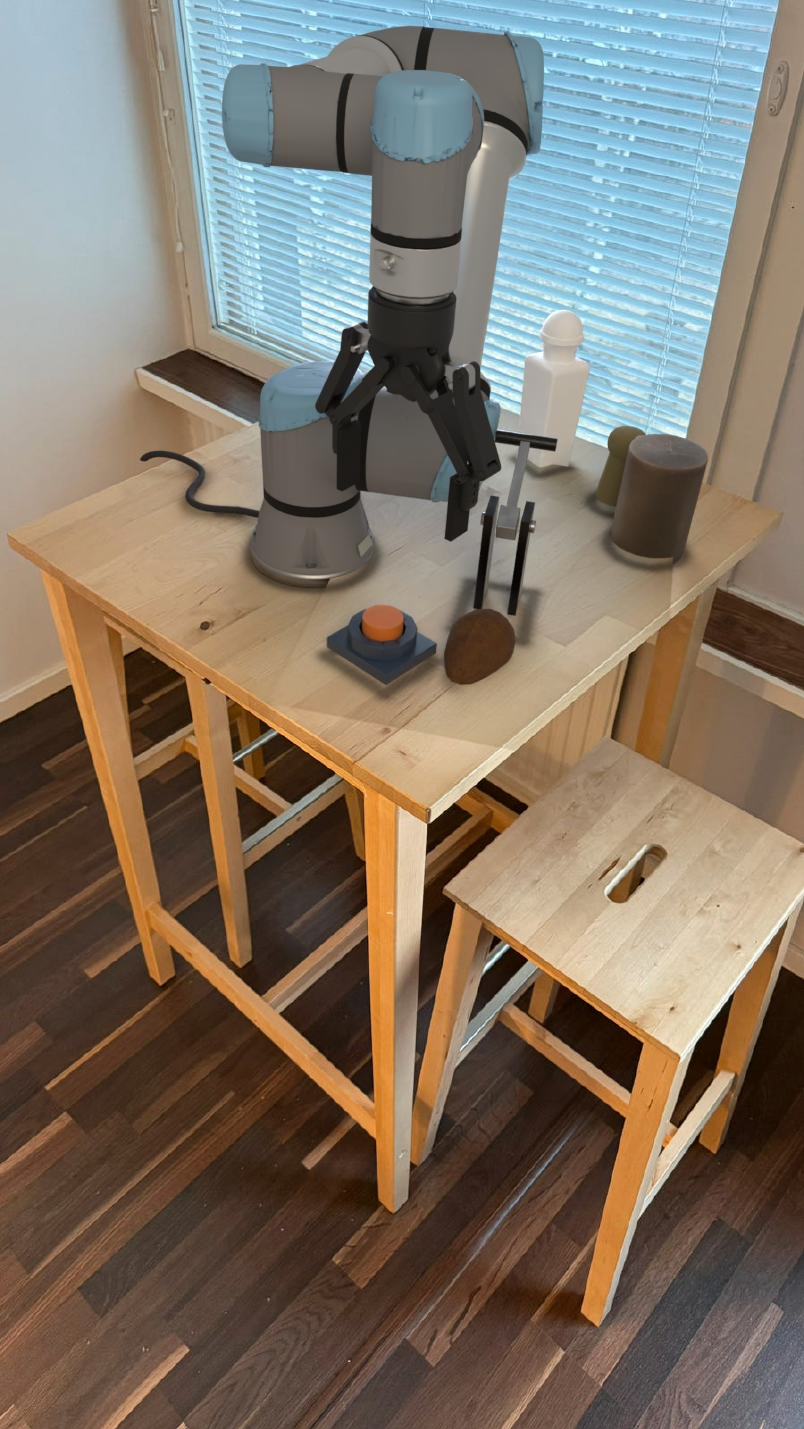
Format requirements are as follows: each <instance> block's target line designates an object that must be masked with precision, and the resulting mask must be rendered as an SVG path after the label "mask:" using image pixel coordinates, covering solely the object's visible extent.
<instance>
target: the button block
mask: <svg viewBox="0 0 804 1429" xmlns="http://www.w3.org/2000/svg"><path fill="white" fill-rule="evenodd" d="M366 609H367V608H363V609H362V610H361V611H359V612H357V613H355V614H354V615H352V616H351V618H350V619H349V622H348V624H347V625H346V626H344V627H343V628H340V629H339V630H337V631H335V632H334V633H332V634H330V635H328V636H327V637H326V648H328V649H329V650H330V651H331V652H334V653H335V654H337V655H338V656H340V657H341V658H343V659H344V660H345V661H347V662H349V663H350V664H352V665H354V666H355V667H357V668H358V669H359V670H361V671H362V672H364V673H365V674H368V675H369V676H370V677H372V678H374V679H375V680H377V681H378V682H380V683H382V684H383V685H385V686H387V685H389V684H391V683H392V682H394V681H395V680H397V679H398V678H400V677H402V676H403V675H404V674H406V673H407V672H409V671H411V670H412V669H413V668H415V667H417V666H418V665H420V664H422V663H423V662H425V661H426V660H428V659H429V658H431V657H433V656H435V655H436V654H437V647H438V643H437V642H435V641H434V640H432V639H430V638H429V637H427V636H425V635H424V634H422V633H420V631H418V626H417V624H416V622H415V620H414V618H413V617H412V616H411V615H409V614H408V613H406V612H404V611H403V610H401V609H399V610H400V611H401V612H402V614H403V617H404V620H403V632H402V635H401V636H400V637H399V638H397V639H396V640H390V641H383V642H382V641H376V640H371V639H370V638H368V637H366V636H365V635H364V633H363V631H362V616H363V613H364V611H365V610H366Z"/></svg>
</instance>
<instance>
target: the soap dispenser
mask: <svg viewBox="0 0 804 1429" xmlns="http://www.w3.org/2000/svg"><path fill="white" fill-rule="evenodd" d="M538 337H539V339H540V340H541V343H542V351H540V352H536V353H535V352H534V353H531V354H528V355H527V356H526V357H525V359H524V367H523V379H522V388H521V400H520V411H519V412H520V414H519V424H518V433H523V434H529V435H536V436H543V437H549V438H556V439H558V441H557V447H556V451H555V452H554V451H547V450H541V449H534V448H530V449H529V453H528V458H527V462H531V463H532V464H534V465H535V466H536V467H538V468H544V467H548V466H552V465H554V466H562V467H569V465H570V462H571V458H572V457H571V456H572V452H573V447H574V443H575V439H576V434H577V429H578V425H579V421H580V416H581V411H582V407H583V404H584V403H583V402H584V398H585V394H586V390H587V386H588V380H589V375H590V372H591V366H590V364H589V363H588V362H587V361H585V360H583V359H582V358H580V357H579V356H578V355H577V354H576V353H577V351H578V349H579V347H580V346H581V344H583V343H584V341H585V332H584V326H583V322H582V320H581V318H580V316H578V315H577V314H576V312H573V311H571V310H568V309H559V310H555V311H553V312H552V313H550V314H549V315H548V316H547V317H546V319H545V320H544V322H543V324H542V326H541V328H540V329H539V334H538ZM576 355H577V356H576ZM518 451H519V446H516V459H515V460H517V455H518Z"/></svg>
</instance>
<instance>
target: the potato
mask: <svg viewBox="0 0 804 1429" xmlns="http://www.w3.org/2000/svg"><path fill="white" fill-rule="evenodd" d="M515 645H516V634H515V628H514V627H513V625H512V623H511V622H510V620H509V618H507V617H506V616H505V615H503V613H501V612H500V611H497V610H494V609H491V608H482V609H474V610H471V611H469V612H467V613H464V614H463V615H462V616H460V617H459V618H458V619H457V620H456V621H455V622H454V623H453V624H452V627H451V629H450V631H449V634H448V637H447V640H446V643H445V647H444V652H443V661H444V668H445V673H446V675H447V677H448V678H449V680H451V682H452V683H455V684H458V685H459V686H463V685H464V686H465V685H474V684H475V683H477V682H480V681H482V680H484V679H486V678H488V677H489V676H491V675H492V674H494V673H495V672H497V671H499V670H500V669H501V668H503V666H505V665H506V664H508V663H509V661H510V660H511V658H512V656H513V655H514V651H515Z"/></svg>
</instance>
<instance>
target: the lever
mask: <svg viewBox="0 0 804 1429" xmlns="http://www.w3.org/2000/svg"><path fill="white" fill-rule="evenodd" d="M557 441H558V439H556V438H549V437H543V436H536V435H529V434H523V433H519V432H515V431H509V430H502V429H497V431H496V435H495V444H503V445H507V446H515V447H517V446H519V451H518V455H517V454H516V456H517V459H515V460H516V461H515V466H514V470H513V474H512V478H511V483H510V486H509V487H510V488H509V492H508V496H507V501H506V504H501V505H500V507H499V510H498V515H497V520H496V528H495V538H498V539H504V540H509V541H516V538H517V534H518V529H519V526H520V521H521V507H518V504H519V500H520V496H521V490H522V486H523V480H524V476H525V472H526V467H527V463H528V460H527V458H528V453H529V449H530V448H534V449H541V450H547V451H554V452H555V451H556V447H557Z"/></svg>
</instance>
